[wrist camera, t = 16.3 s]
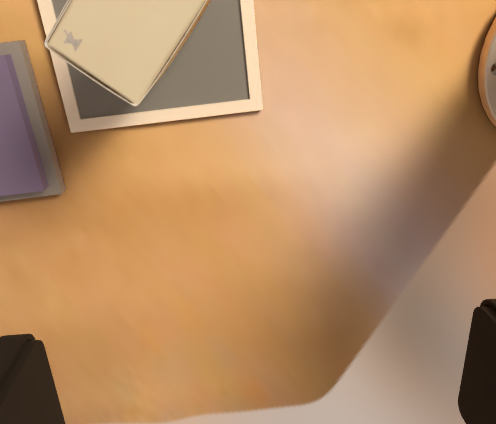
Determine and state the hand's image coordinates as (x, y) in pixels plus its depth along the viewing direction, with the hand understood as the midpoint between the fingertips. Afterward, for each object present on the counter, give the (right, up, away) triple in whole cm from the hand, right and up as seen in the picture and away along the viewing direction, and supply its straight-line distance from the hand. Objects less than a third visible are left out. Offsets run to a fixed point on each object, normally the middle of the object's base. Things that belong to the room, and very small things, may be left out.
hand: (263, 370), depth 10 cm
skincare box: (-6, +16, +19) cm, 25 cm away
